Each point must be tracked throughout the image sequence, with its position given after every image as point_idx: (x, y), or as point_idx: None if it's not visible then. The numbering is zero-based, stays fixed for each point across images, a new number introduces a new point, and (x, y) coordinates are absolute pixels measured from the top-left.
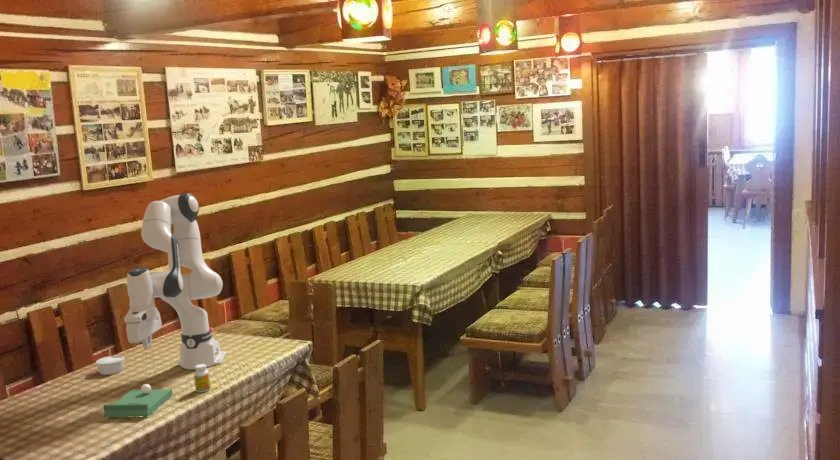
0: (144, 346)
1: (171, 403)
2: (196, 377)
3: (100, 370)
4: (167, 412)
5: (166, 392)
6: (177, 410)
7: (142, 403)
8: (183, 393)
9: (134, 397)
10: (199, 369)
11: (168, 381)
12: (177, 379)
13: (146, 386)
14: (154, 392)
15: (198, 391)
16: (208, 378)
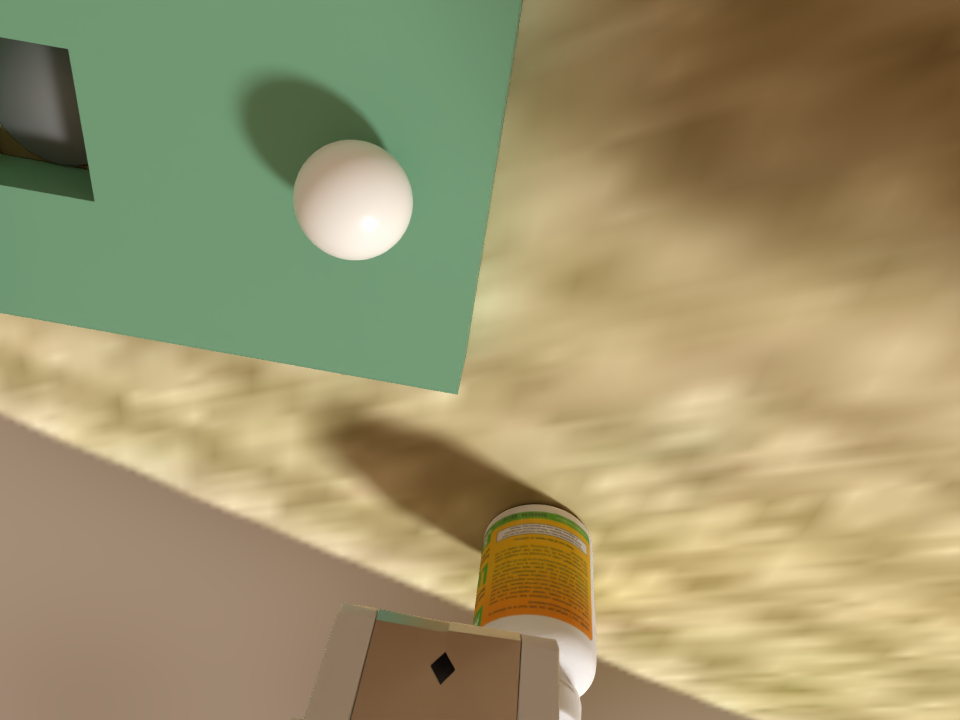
0: (325, 672)
1: (285, 383)
2: (479, 621)
3: None
4: (109, 391)
5: (374, 367)
6: (152, 445)
7: (95, 217)
8: (499, 427)
9: (253, 67)
10: None
11: (926, 233)
12: (942, 312)
13: (309, 236)
14: (391, 256)
15: (489, 526)
16: None
